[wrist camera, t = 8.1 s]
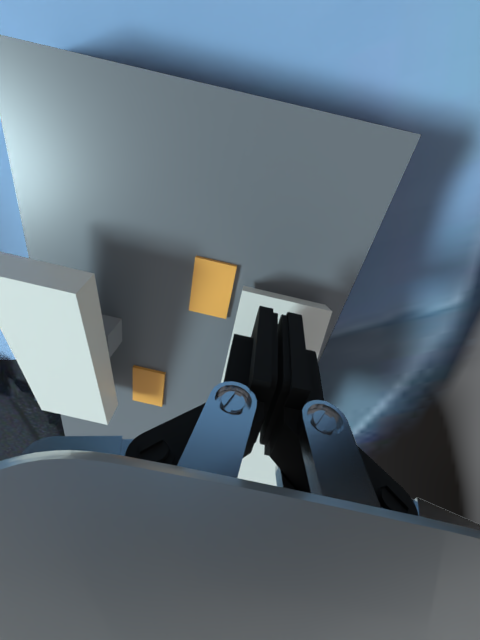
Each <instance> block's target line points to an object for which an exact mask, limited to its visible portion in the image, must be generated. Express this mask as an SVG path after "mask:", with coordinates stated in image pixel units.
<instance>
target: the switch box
mask: <svg viewBox="0 0 480 640" xmlns="http://www.w3.org/2000/svg"><path fill="white" fill-rule="evenodd" d="M0 117H1V122H2V127H3V132H4V137H5V142H6V147H7V152H8V157H9V162H10V167H11V172H12V176H13V181H14V186H15V191H16V196H17V201H18V206H19V211H20V216H21V221H22V226H23V231H24V236H25V241H26V246H27V251H28V256H29V258H30V259H34V260H38V261H42V262H47V263H51V264H55V265H60V266H64V267H68V268H73V269H77V270H81V271H85V272H90V273H94V275H95V280H96V286H97V291H98V297H99V302H100V308H101V313H102V319H103V324H104V330H105V335H106V341H107V346H108V352H109V357H110V363H111V368H112V374H113V379H114V385H115V391H116V396H117V402H118V406H117V408H116V410H115V412H114V414H113V416H112V417H111V419H110V421H109V423H108V425H105V424H101V423H97V422H92V421H88V420H83V419H79V418H75V417H70V416H66V415H62V414H61V419H62V424H63V429H64V434H65V436H123V439H134V438H136V437H137V436H139V435H140V434H142V433H144V432H146V431H148V430H150V429H152V428H154V427H156V426H158V425H160V424H163V423H165V422H167V421H169V420H171V419H173V418H175V417H177V416H179V415H181V414H183V413H185V412H187V411H189V410H191V409H194V408H196V407H198V406H200V405H202V404H204V403H206V401H207V399H208V397H209V395H210V393H211V391H212V390H213V388H214V387H215V386H216V385H218V384H219V383H221V380H222V376H223V371H224V367H225V363H226V358H227V354H228V350H229V345H230V341H231V337H232V332H233V328H234V324H235V319H236V315H237V311H238V306H239V302H240V297H241V293H242V289H243V286H247V287H252V288H256V289H260V290H264V291H269V292H273V293H277V294H282V295H286V296H290V297H295V298H299V299H303V300H307V301H312V302H316V303H320V304H325V305H326V306H327V307H328V308H329V309H330V310H331V311H332V314H331V317H330V321H329V324H328V327H327V330H326V333H325V336H324V340H323V343H322V346H321V349H320V352H319V355H318V359H317V361H318V362H319V360H320V358H321V355H322V353H323V351H324V349H325V346H326V344H327V342H328V340H329V338H330V335H331V333H332V331H333V329H334V327H335V324H336V322H337V320H338V318H339V315H340V313H341V311H342V309H343V307H344V304H345V302H346V300H347V298H348V296H349V293H350V291H351V289H352V287H353V285H354V282H355V280H356V278H357V276H358V273H359V271H360V269H361V267H362V265H363V262H364V260H365V258H366V256H367V254H368V251H369V249H370V247H371V245H372V243H373V240H374V238H375V236H376V234H377V231H378V229H379V227H380V225H381V223H382V220H383V218H384V216H385V214H386V212H387V209H388V207H389V205H390V203H391V201H392V198H393V196H394V194H395V192H396V189H397V187H398V185H399V183H400V181H401V178H402V176H403V174H404V172H405V170H406V167H407V165H408V163H409V161H410V158H411V156H412V154H413V152H414V150H415V147H416V145H417V143H418V141H419V139H420V136H421V134H417V133H412V132H408V131H404V130H400V129H395V128H391V127H387V126H383V125H379V124H374V123H370V122H366V121H362V120H357V119H353V118H349V117H345V116H341V115H336V114H332V113H328V112H324V111H320V110H315V109H311V108H307V107H303V106H298V105H294V104H290V103H286V102H282V101H277V100H273V99H269V98H265V97H261V96H256V95H252V94H248V93H244V92H239V91H235V90H231V89H227V88H223V87H218V86H214V85H210V84H206V83H202V82H197V81H193V80H189V79H185V78H180V77H176V76H172V75H168V74H164V73H159V72H155V71H151V70H147V69H142V68H138V67H134V66H130V65H126V64H121V63H117V62H113V61H109V60H105V59H100V58H96V57H92V56H88V55H83V54H79V53H75V52H71V51H67V50H62V49H58V48H54V47H50V46H46V45H41V44H37V43H33V42H29V41H24V40H20V39H16V38H12V37H8V36H3V35H0Z"/></svg>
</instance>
